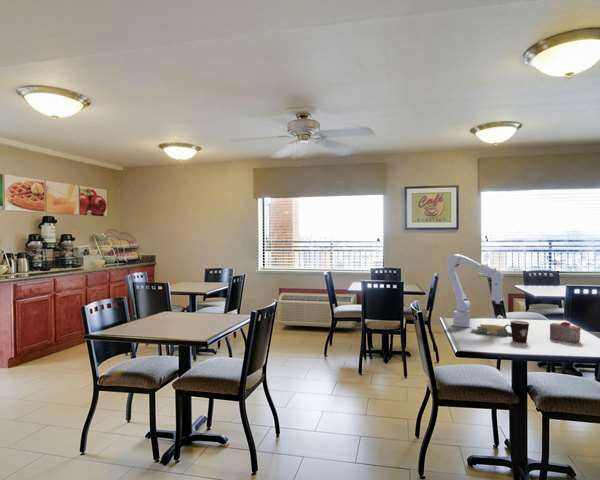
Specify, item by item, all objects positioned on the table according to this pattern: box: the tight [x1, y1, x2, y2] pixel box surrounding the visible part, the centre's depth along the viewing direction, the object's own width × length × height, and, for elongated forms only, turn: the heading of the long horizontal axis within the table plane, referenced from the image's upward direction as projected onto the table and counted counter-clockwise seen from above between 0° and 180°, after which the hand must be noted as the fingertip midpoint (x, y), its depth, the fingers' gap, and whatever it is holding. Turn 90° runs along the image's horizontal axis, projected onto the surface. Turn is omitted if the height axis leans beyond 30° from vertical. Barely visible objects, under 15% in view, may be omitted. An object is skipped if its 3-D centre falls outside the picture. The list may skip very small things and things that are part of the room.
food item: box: [549, 321, 582, 344], centre depth 212 cm, size 14×8×10 cm, turn 43°
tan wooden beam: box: [480, 323, 505, 334], centre depth 225 cm, size 12×2×4 cm, turn 67°
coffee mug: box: [503, 320, 530, 344], centre depth 210 cm, size 12×9×10 cm
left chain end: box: [471, 326, 488, 336], centre depth 227 cm, size 8×6×3 cm
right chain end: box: [496, 328, 512, 337], centre depth 222 cm, size 8×6×3 cm
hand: (496, 314), depth 234 cm, fingers open, 7 cm apart
